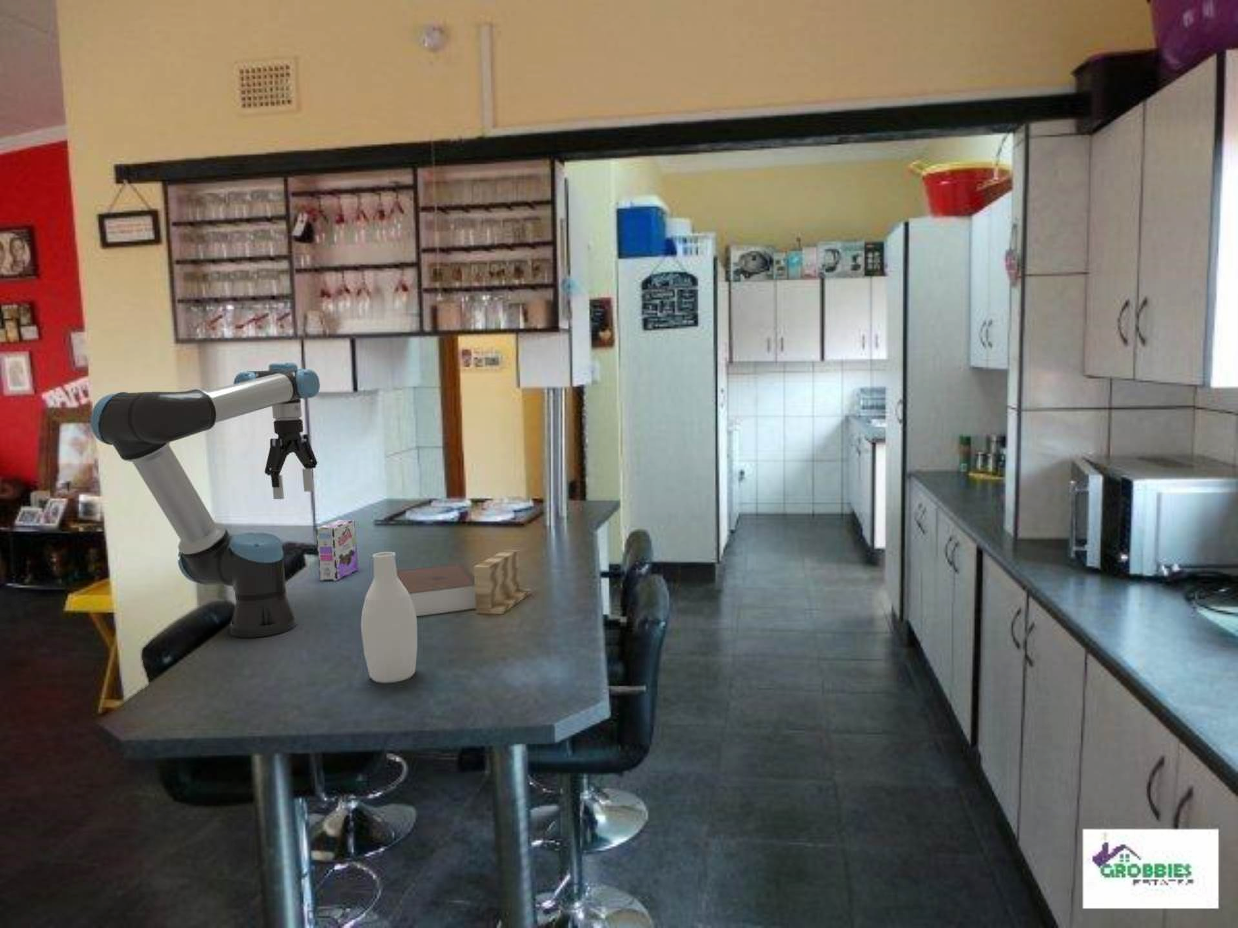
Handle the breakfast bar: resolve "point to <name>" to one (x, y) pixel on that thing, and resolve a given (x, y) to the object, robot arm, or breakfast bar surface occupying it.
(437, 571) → the book
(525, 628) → the breakfast bar surface
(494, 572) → the bookend
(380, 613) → the bottle
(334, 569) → the candy box
